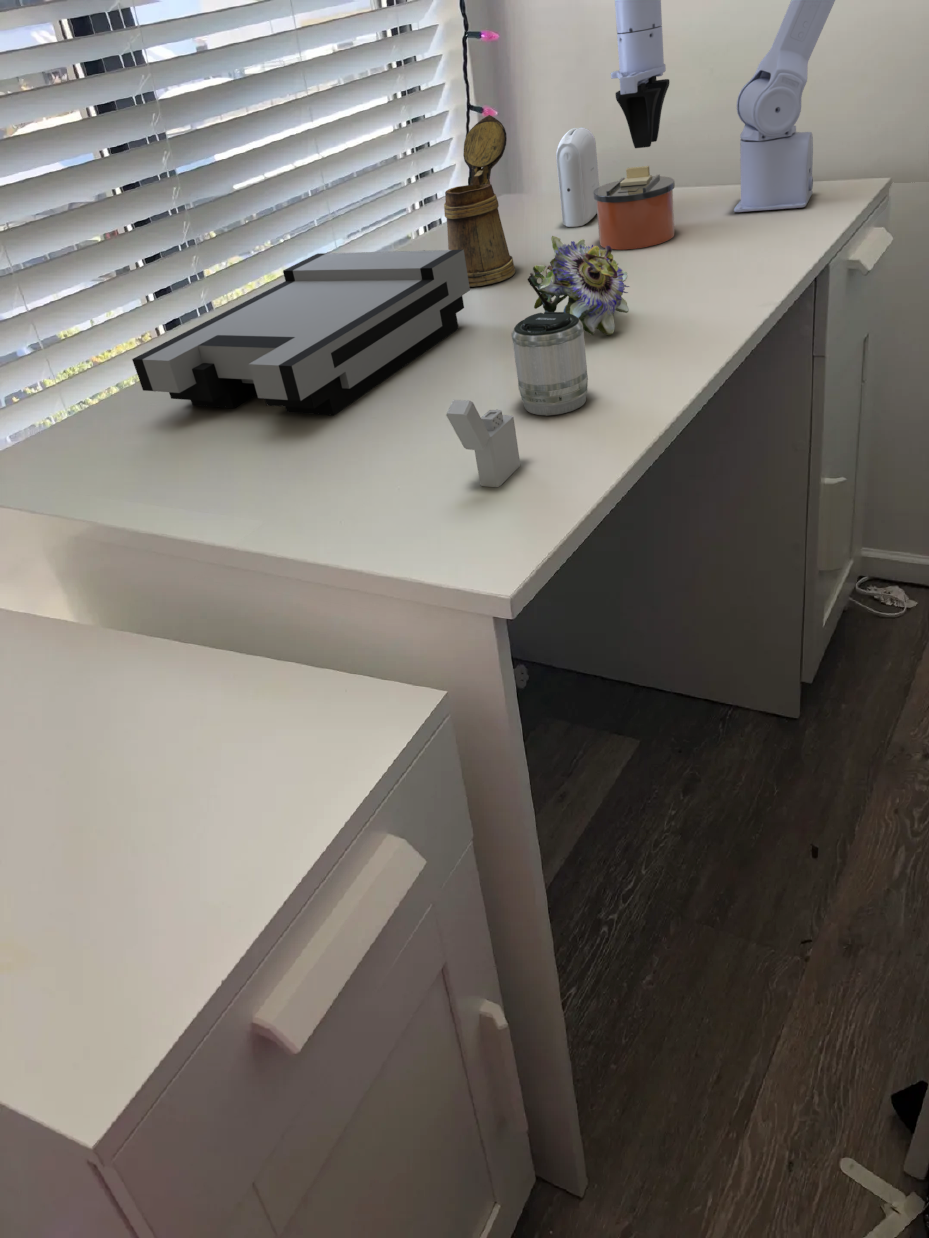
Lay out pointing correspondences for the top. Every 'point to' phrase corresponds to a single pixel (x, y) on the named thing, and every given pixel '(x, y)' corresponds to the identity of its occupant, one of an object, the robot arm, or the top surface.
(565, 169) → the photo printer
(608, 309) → the passion flower
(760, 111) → the robot arm
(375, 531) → the top surface
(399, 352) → the game console
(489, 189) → the wooden mug
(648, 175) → the slider
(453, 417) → the lighter
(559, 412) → the camera lens
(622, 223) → the orange lidded canister
